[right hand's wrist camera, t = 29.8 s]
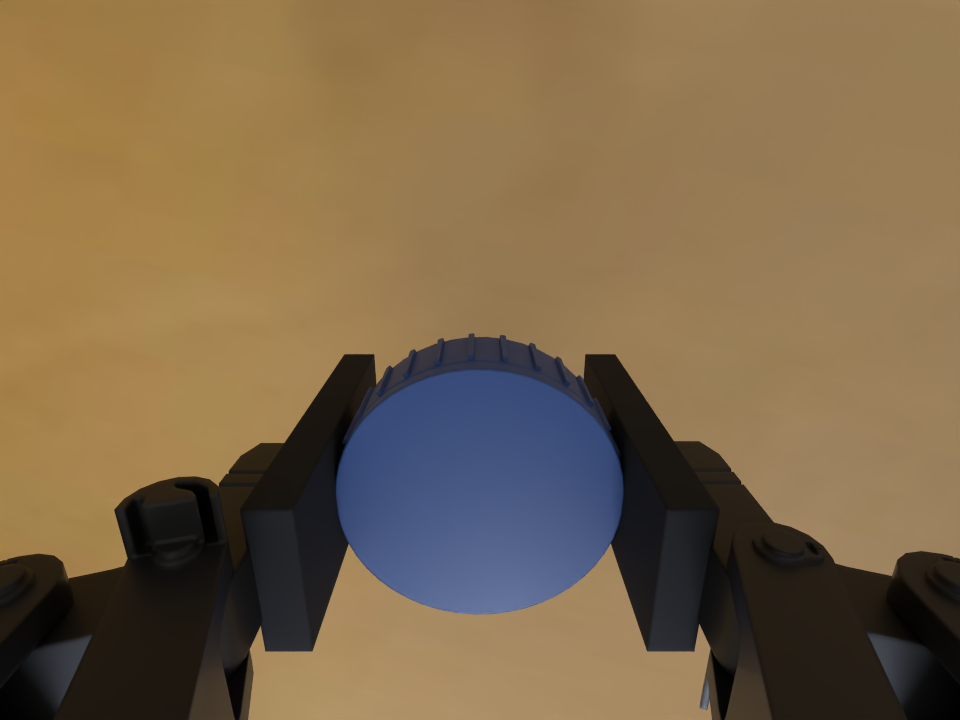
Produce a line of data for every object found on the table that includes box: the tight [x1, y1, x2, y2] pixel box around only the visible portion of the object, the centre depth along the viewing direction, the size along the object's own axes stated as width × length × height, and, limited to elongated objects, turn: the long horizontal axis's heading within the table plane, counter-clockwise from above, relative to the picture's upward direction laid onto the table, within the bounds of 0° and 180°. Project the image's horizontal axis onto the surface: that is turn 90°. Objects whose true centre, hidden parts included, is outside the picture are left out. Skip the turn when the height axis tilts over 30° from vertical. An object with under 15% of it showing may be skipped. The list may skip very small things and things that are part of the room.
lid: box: [335, 334, 624, 614], centre depth 11 cm, size 6×6×2 cm
